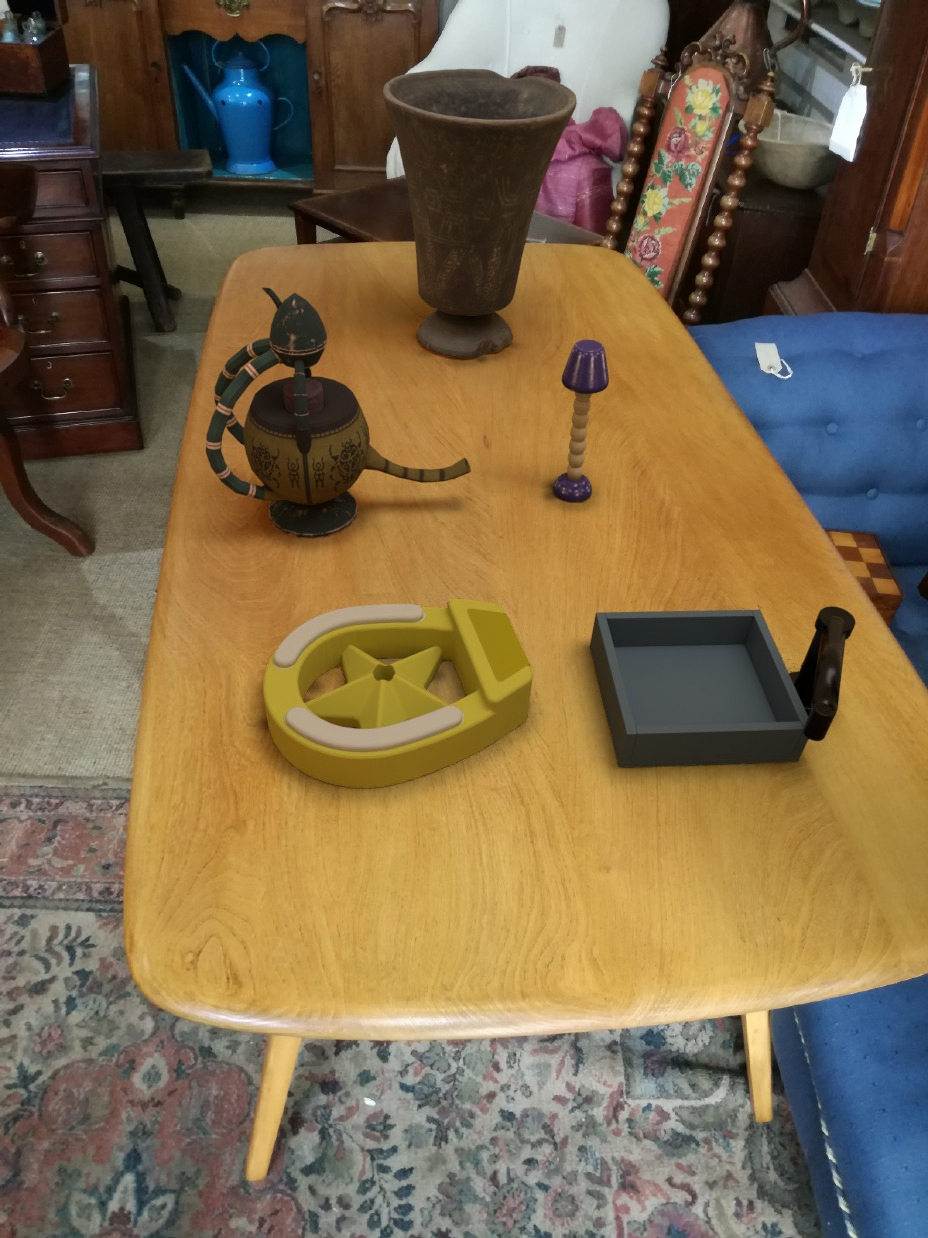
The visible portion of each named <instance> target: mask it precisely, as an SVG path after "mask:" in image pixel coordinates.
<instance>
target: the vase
mask: <svg viewBox="0 0 928 1238" xmlns="http://www.w3.org/2000/svg"><path fill="white" fill-rule="evenodd" d="M382 98H383V101H384V104H385V107H386V110H387V114H388V116H389V119H390V121H391V124H392V127H393V130H394V133H395V137H396V140H397V145H398V150H399V154H400V159H401V162H402V166H403V173H404V176H405V181H406V185H407V191H408V197H409V206H410V211H411V217H412V225H413V233H414V246H415V257H416V275H417V276H416V277H417V287H418V289H417V290H418V295H419V297H420V299H421V300H422V301H423V302H424V303H425V304H426V305H428V306H429V307H431V308H432V309H435V310H434V311H433V312H432V313H430V314H429V315H427V316H426V317H425V318H424V319H423V320H422V321H421V322H420V324H419V326H418V330H417V332H416V339H417V341H418V343H419V344H420V345H421V346H422V347H424V348H426V349H428V350H429V351H431V352H433V353H435V354H439V355H441V356H444V357H450V358H455V359H456V358H457V359H473V358H476V357H478V356H482V355H485V354H491V353H497V352H501V351H502V350H503V349H504V348H506V347H508V346H509V345H510V344H511V343H513V339H514V335H513V331H512V329H511V327H510V325H509V323H508V322H507V321H506V320H505V319H504V318H503V317H502V316H501V315H500V314H499V313H497V312H498V311H499V312H500V311H501V310H504V309H505V308H507V307H508V306H509V305H510V304H511V303H512V302H513V300H514V297H515V293H516V289H517V284H518V279H519V275H520V270H521V265H522V259H523V255H524V250H525V247H526V244H527V243H526V242H527V238H528V235H529V231H530V227H531V224H532V223H531V222H532V218H533V214H534V211H535V209H536V205H537V202H538V199H539V195H540V192H541V188H542V185H543V183H544V181H545V178H546V175H547V172H548V170H549V167H550V165H551V163H552V160H553V157H554V155H555V152H556V149H557V147H558V144H559V142H560V140H561V137H562V135H563V133H564V132H565V130H566V128H567V127H568V125H569V123H570V121H571V118H572V116H573V114H574V113H575V110H576V107H577V95H576V94H575V92H574V91H573V90H572V89H571V88H569V87H567V86H566V85H564V84H562V83H560V82H558V81H556V80H553V79H551V78H547V77H543V76H536V75H528V76H524V77H520V78H514V79H513V78H511V77H510V78H509V77H506V76H503V75H502V74H499V73H498V72H496V71H495V70H491V69H485V68H456V69H455V68H454V69H447V68H446V69H445V68H444V69H438V70H437V69H436V70H424V71H417V72H409V73H405V74H401V75H398V76H395V77H393V78H391V79H389V81H386V83H385V84H384V86H383V89H382Z"/></svg>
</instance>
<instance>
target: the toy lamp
mask: <svg viewBox="0 0 928 1238" xmlns="http://www.w3.org/2000/svg"><path fill="white" fill-rule="evenodd" d="M607 361H608V360H607V355H606V348H605V346H604V345H603V344H602V343H601V342H600V341H598V340H595V339H581V340H578V341H576V342H575V343H574V345H573V347H572V348H571V350H570V354H569V356H568V358H567V361H566V364H565V366H564V369H563V371H562V374H561V383H562V386H563V387H565V388H566V389H567V390H569V391H571V392H574V396H575V398H574V400H573V405H572V407H573V413H572V416H571V423H572V425H571V427H570V431H569V435H570V439H569V443H568V449H569V452H568V456H567V461H568V465H567V467H566V472H563V473H561V474H560V475H558V476H557V477H556V479H555V480H554V482H553V484H552V492H553V494H554V496H556V497H557V498H558V499H560V500H561V501H565V502H570V503H576V502H582V501H585V500H587V499H589V498H590V497H591V496H592V493H593V486H592V483H591V481H590V479H589V478H588V477H587V476H586V475H585V474H583V473H584V466H583V465H584V463H585V451H586V448H587V441H586V438H587V436H588V427H587V426H588V423H589V420H590V416H589V412H590V409H591V405H592V403H591V397H592V395H594V394H598V393H601V392H603V391H604V390H606V389H607V388H608V386H609V383H610V376H609V375H610V374H609V369H608V368H609V367H608V362H607Z"/></svg>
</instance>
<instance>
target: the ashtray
mask: <svg viewBox="0 0 928 1238" xmlns="http://www.w3.org/2000/svg"><path fill="white" fill-rule="evenodd" d="M395 658H396V659H397V658H398V659H399V658H401V659H399V660H397V661H395V662H392V663H390V664H388V665H387V664H385V663H383V662H382V661H379V659H395ZM443 660H445V661H446V660H447V661H451V662H452V663H453V665H454V667H455V671H456V673H457V675H458V678H459V681H460V683H461V685H462V689H463V690H464V694H465V695H466V696H464V697H462V698H460V699H458V700H457V701H455V702H452V703H448V702H447V701H445V700H444V699H442V698H440V697H438V696H437V695H435V694H434V693H432V692H430V691H429V690H428V688H429V686H430V684H431V682H432V680H433V679H434V677H435V675H436V673H437V671H438V669H439V667H440V666H441V663H442V662H443ZM529 661H530V660H529V659H528V657H527V655H526V653H525V650H524V649H523V647H522V644H521V641H520V639H519V638H518V636H517V634H516V632H515V629H514V627H513V625H512V623H511V620H510V619H509V616H508V615H507V613H506V612H505V611H504V609H503V608H502V607H501V606H500V605H499V604H497V603H495V602H487V601H480V600H473V599H465V598H458V597H452V598H450V599H449V600H448V601H447V607H442V606H439V607H438V606H426V605H425V606H422V605H418V604H416V603H384V604H367V605H355V606H354V605H353V606H347V607H343V608H342V607H341V608H338V609H334V610H330V611H327V612H324V613H322V614H319V615H317V616H315V617H312V618H311V619H309V620H307V621H305V622H303V623H302V624H301V625H299V626H298V627H296V628H295V629H293V631H292V632H290V633H289V634H288V635H287V636H286V637H285V638H284V639H283V640H282V641H281V642H280V644H279V645H277V647H276V649H274V651H273V652H272V654H271V656H270V658H269V660H268V662H267V663H266V667H265V670H264V672H263V673H264V674H263V680H262V693H263V700H264V707H265V715H266V719H267V726H268V729H269V730H268V731H269V734H270V736H271V739H272V741H273V743H274V745H275V746H276V749H277V750H278V751H279V753H280V754H281V755H282V756H283V757H284V758H285V759H286V761H287V762H289V764H291V765H292V766H293V767H295V768H296V769H297V770H298V771H301V772H302V773H304V774H305V775H307V776H309V777H311V778H314V779H315V780H318V781H320V782H323V783H327V784H330V785H334V786H338V787H346V788H353V789H375V788H384V787H390V786H394V785H395V786H396V785H398V784H401V783H405V782H408V781H412V780H414V779H418V778H420V777H423V776H426V775H429V774H432V773H435V772H437V771H440V770H442V769H444V768H447V767H449V766H452V765H453V764H456V763H458V762H460V761H463V760H465V759H467V758H468V757H469V758H470V757H471V756H473V755H475V754H476V753H479V752H480V751H482V750H485V748H488V747H489V746H491V745H492V744H494V743H495V742H497V741H498V740H500V739H502V738H503V737H505V736H506V735H507V734H509V733H510V732H512V731H514V730H515V729H516V728H518V727H519V726H520V725H522V724H524V723H525V722H526V721H527V719H528V715H529V707H530V700H531V693H532V686H533V677H534V673H533V670H532V668H531V667H530V666H531V663H530V662H529ZM338 666H341V668H342V672H343V675H344V679H345V682H346V684H344V685H341V686H339V687H337V688H335V689H332V690H330V691H328V692H326V693H324V694H322V695H319V696H317V697H315V698H313V699H311V700H308V701H306V702H304V699H305V697H306V694H307V692H308V691H309V689H310V688H311V686H312V685H313V684H314V683H315V682H316V681H317V680H318V679H319V678H320V677H321V676H322V675H324V674H325V673H326V672H329V671H330V670H332V669H333V668H336V667H338Z"/></svg>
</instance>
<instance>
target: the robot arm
mask: <svg viewBox="0 0 928 1238" xmlns="http://www.w3.org/2000/svg"><path fill="white" fill-rule="evenodd" d="M916 588H917V590H918V593H919V596H920V597H921V598H923V599H924V600H926V601H927V602H928V570H927V571H926V573H925V574H924V575H923V577H922V579H921V580H920V582H919V583H918V585H917V586H916Z"/></svg>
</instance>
